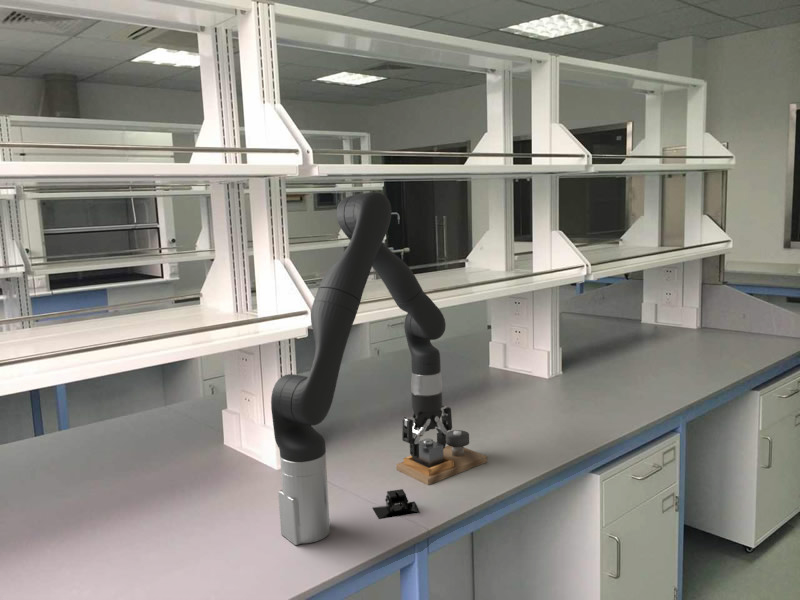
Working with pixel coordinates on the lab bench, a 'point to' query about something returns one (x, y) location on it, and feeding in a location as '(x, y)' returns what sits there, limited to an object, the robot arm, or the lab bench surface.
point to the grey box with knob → (430, 453)
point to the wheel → (457, 438)
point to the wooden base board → (442, 465)
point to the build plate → (396, 505)
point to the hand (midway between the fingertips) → (428, 452)
